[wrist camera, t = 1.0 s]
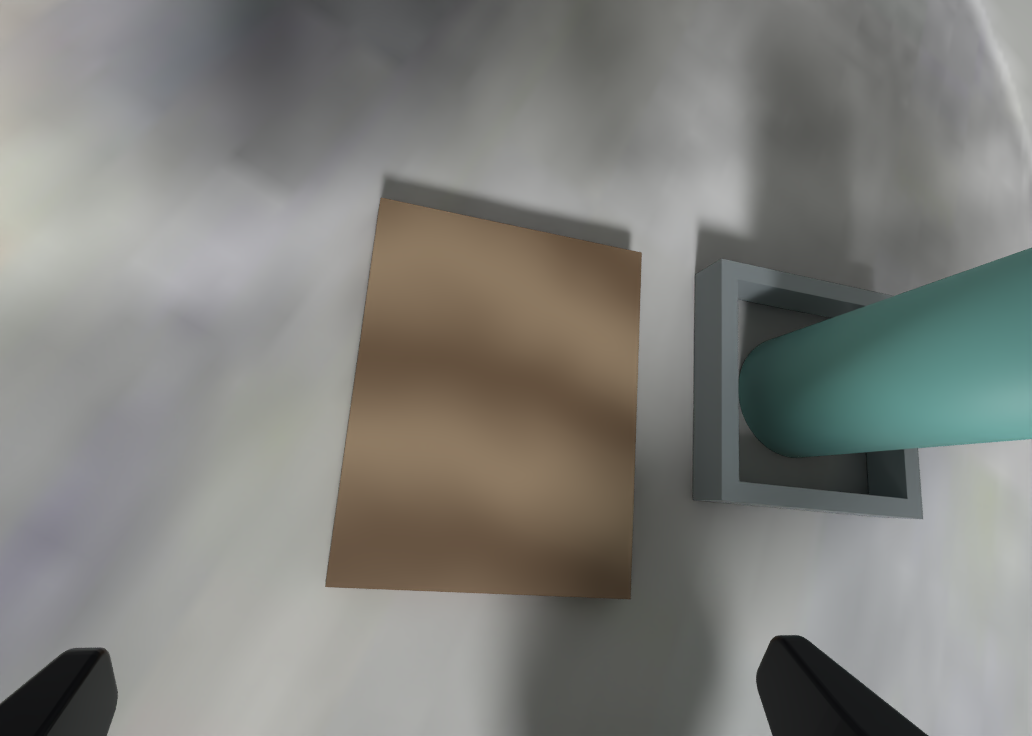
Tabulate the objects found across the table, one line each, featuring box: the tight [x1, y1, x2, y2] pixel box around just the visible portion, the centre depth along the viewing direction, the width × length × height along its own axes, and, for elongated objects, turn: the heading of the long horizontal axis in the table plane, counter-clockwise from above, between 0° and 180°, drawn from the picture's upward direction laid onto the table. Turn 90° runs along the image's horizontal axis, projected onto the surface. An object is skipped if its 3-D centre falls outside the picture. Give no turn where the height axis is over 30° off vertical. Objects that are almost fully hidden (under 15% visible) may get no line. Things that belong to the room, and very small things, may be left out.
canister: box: [738, 248, 1032, 458], centre depth 22 cm, size 6×6×12 cm
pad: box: [325, 198, 642, 599], centre depth 23 cm, size 14×11×1 cm
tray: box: [693, 259, 923, 519], centre depth 27 cm, size 10×10×2 cm
